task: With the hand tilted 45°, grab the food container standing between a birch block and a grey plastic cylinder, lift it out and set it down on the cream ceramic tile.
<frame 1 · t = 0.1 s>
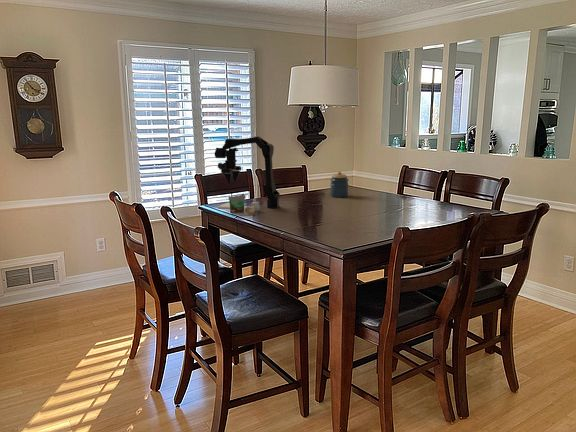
hand: (231, 182, 300), 15 cm above the table, tool pointing down, fingers open, 9 cm apart
birch block: (249, 214, 274), on the table
grey plastic cylinder: (255, 210, 284), on the table
canister: (339, 196, 333), on the table
cream tile: (232, 206, 298), on the table
food container: (239, 212, 282), on the table
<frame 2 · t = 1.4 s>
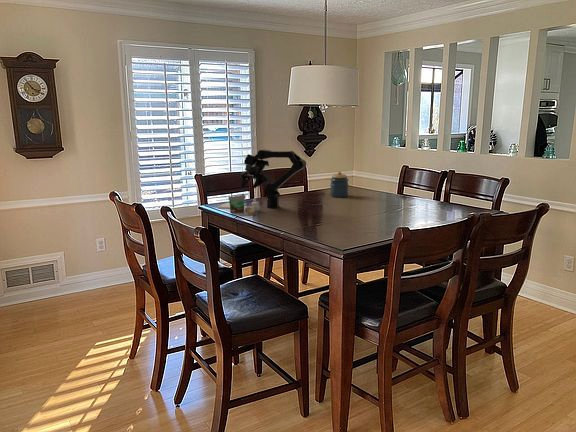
hand: (247, 188, 284), 14 cm above the table, tool tilted 45°, fingers open, 9 cm apart
nothing on the table moved.
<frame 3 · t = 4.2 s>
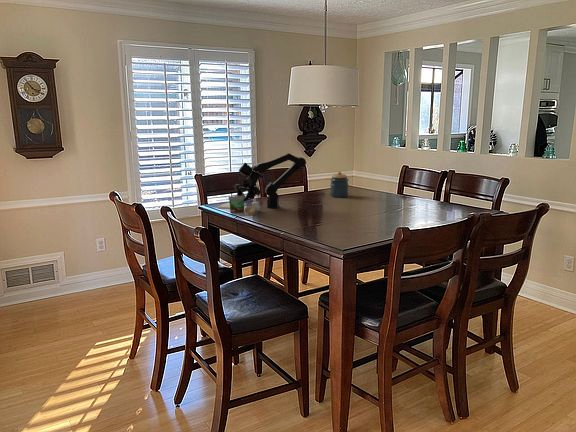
hand: (240, 200, 281), 7 cm above the table, tool tilted 45°, fingers closed on food container, 6 cm apart
food container: (239, 212, 282), on the table, touching gripper
everything else where it was.
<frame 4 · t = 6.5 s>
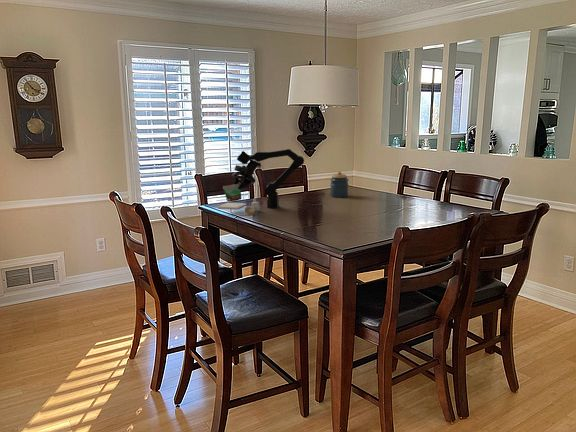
hand: (235, 188, 284), 13 cm above the table, tool tilted 45°, fingers closed on food container, 6 cm apart
food container: (236, 200, 285), point 6 cm above the table, touching gripper
everything else where it was.
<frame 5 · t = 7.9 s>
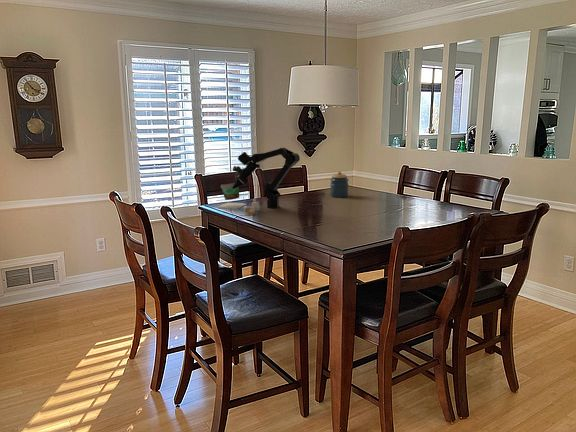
hand: (232, 187, 296), 12 cm above the table, tool tilted 45°, fingers closed on food container, 6 cm apart
food container: (232, 199, 297), point 5 cm above the table, touching gripper
everything else where it was.
when the fingers open (9 cm above the table, at t = 9.0 s): food container stays where it is, resting on cream tile.
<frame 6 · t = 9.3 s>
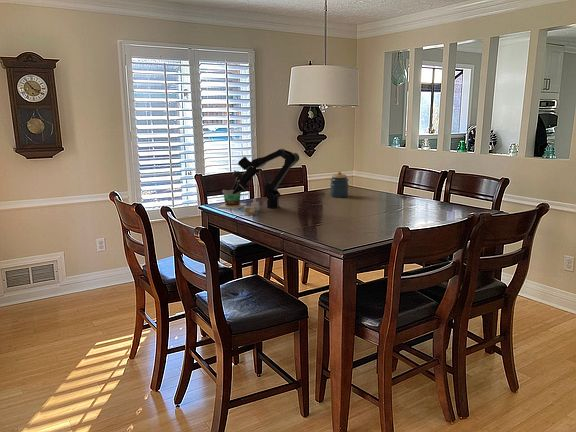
hand: (232, 192, 296), 9 cm above the table, tool tilted 45°, fingers open, 9 cm apart
food container: (232, 205, 297), point 1 cm above the table, touching cream tile
everything else where it was.
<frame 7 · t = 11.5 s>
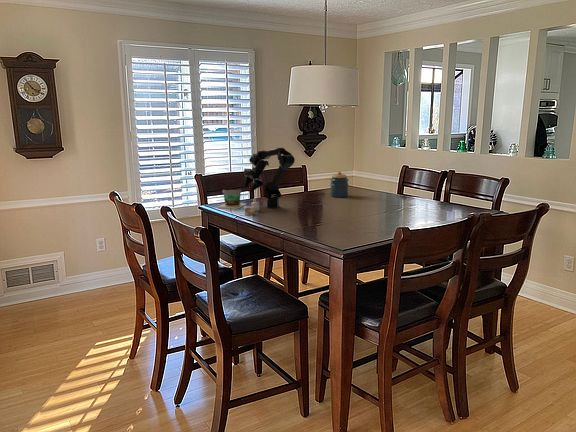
hand: (247, 189, 301), 10 cm above the table, tool tilted 30°, fingers open, 9 cm apart
nothing on the table moved.
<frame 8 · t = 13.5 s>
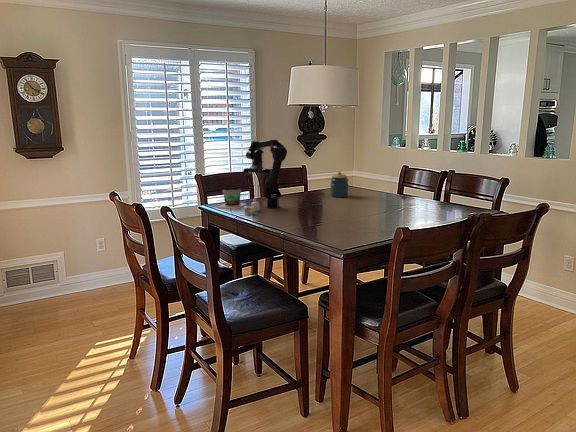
hand: (258, 183, 305), 13 cm above the table, tool pointing down, fingers open, 9 cm apart
nothing on the table moved.
at the end: food container inside the target area on the cream tile (0.7 cm from its centre), point 0.8 cm above the cream tile's base; food container tilted 0°; the gripper is holding nothing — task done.
